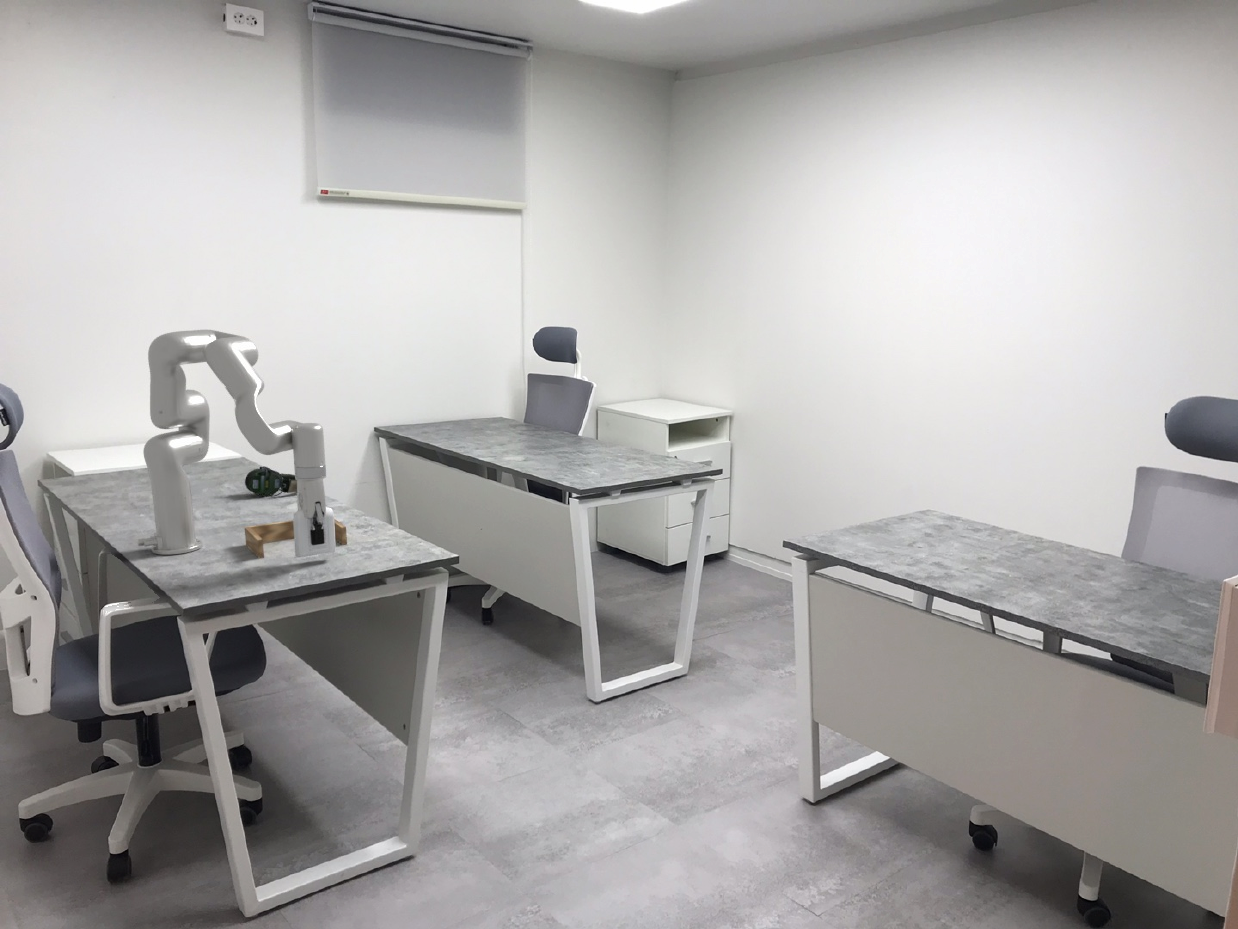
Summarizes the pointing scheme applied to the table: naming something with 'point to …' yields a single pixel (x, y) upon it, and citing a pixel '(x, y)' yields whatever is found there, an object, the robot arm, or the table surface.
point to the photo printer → (304, 535)
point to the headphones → (269, 482)
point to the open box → (281, 534)
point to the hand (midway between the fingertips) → (315, 541)
